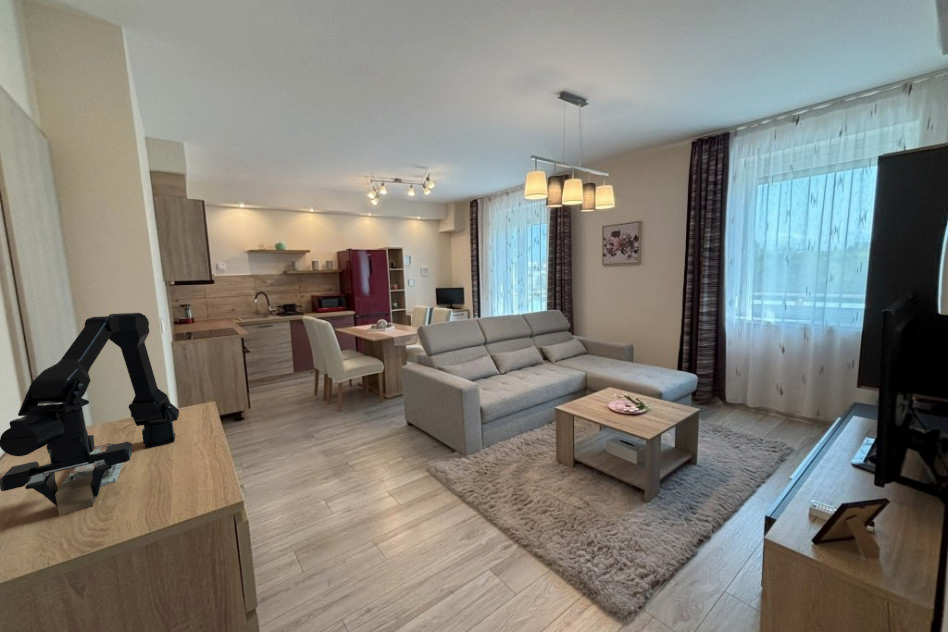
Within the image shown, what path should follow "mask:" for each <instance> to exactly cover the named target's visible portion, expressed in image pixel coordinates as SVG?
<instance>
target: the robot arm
mask: <svg viewBox="0 0 948 632" xmlns="http://www.w3.org/2000/svg"><path fill="white" fill-rule="evenodd" d="M149 325H150V322H149V319H148V318H147V316H146V315H145V314H143V313H141V312H128V313H127V312H124V313H120V312H119V313H110V314H108V315H107V316H106V315H105V316H101V315H100V316H91V317H88V318H86V320H85V321H84V326H83V329H82V330H81V331H80V332H79V334H78V335H77V337H76V338H75V340H74V341H73V342H72V343H71V345H70V346H69V348H68V349H67V350H66V352H65V353H64V355H63V356H62V357H61V359H60V360H59V361H58V362H57V363H55V364H54V365H51V366H50V367H48V368H45V369H44V370H43V371H41V372H40V373H39V374H38V375H37V376H36V377H35V379H33V380H32V381H31V383H30V385H29V388H28V389H27V392H26V394H25V397H24V398H23V401H22V404H21V406H20V409H19V410H18V413H17V416H18V417H20V418H15V419H12V420H10V421H9V428H8V429H6V430H5V431H3V432H2V433H1V435H0V449H1V450H2V451H3V452H4V453H5V454H8V455H9V456H13V457H23V456H27V455H30V454H32V453H33V452H35V451H37V450H39V449H41V448H43V447H44V446H46V451H47V453H48V454H49V459H50V463H47V464H42V465H40V464H39V462H38V461H36V460H35V461H32V462H28V463H23V464H18V465H13V466H11V467H10V468H9V469H8V470H7V471H6V472H5V473H4V474H3V475H2V476H1V477H0V491H1V492H6V491H10V490H16V489H18V488H22V487H25V490H30V489H33V491H36V492H37V493H40V494H41V495H43V497H45V498H47V500H49V501H50V502H51V503H52V504H53V505H54V506H56V507H57V508H58V506H57V501H56V496H55V494H56V492H57V491H58V489H59V487H58V485H57V484H58V483H57V482H56V473H57V472H61V471H65V470H71V469H72V468H75V467H79V466H83V465H88V464H92V463H94V464H95V465H96V466H95V468H94V469H93V471H92V474H93V491H94V495H95V497H97V498H98V496H99V494H100V490H101V487H102V486H101V483H102V479H103V476H104V473H105V471H106V470H109V469H111V468H112V466H113V465H115V464H119V463H123V464H124V463H126V462H129V461H130V460H131V459H132V458H131V457H132V455H133V452H134V449H133V444H132V443H131V442H130V441H124V442H120V443H119V442H118V443H113V444H114V445H109V446H108V447H107V449H106V451H105V452H101V453H96V454H92V455H90V452H93V450H94V448H95V435H94V434H91V435H89V433H88V430H87V428H86V421H85V415H84V409H83V407H84V406H86V405H89V403H90V401H89V400H88V399H85V398H83V397H84V396H85V394H86V392H87V390H88V388H89V385H90V383H91V381H92V380H91V377H90V374H89V372H90V369H91V367H92V366H93V364H94V363H95V361H96V359H97V358H98V357H99V355H100V353H101V352H102V350H103V349H104V347H105V346H106V344H107V342H108V341H111V342H112V343H114V344H115V345H116V346H117V347H119V348H120V351H121V353H122V358H123V360H124V363H125V366H126V370H127V372H128V376H129V379H130V383H131V386H132V389H133V392H134V397H133V398H132V399H133V400H132V401H131V403H129V404H128V409H129V411H130V418H132V419H133V421H134V424H135V426H136V427H140V426H143V427H142V430H141V435H142V441H143V442H142V443H143V445H145V449H148V448H152V447H153V448H154V447H157V446H162V445H166V444H170V443H174V442H175V441H176V440H175V439H176V432H175V429H174V422H176V421H178V418H179V416H180V410H179V409H178V408H177V407H176V406H175V405H173V404H172V403H171V401H170V399H169V396H168V394H167V393H165V392H164V391H162V390H161V389H160V388H158V384H157V381H156V377H155V375H154V370H153V366H152V364H151V359H150V356H149V353H148V350H147V346H146V340H147V337H148V336H149V335H150V328H149V327H150V326H149Z"/></svg>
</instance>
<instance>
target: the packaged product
mask: <svg viewBox="0 0 948 632" xmlns="http://www.w3.org/2000/svg"><path fill="white" fill-rule="evenodd" d="M114 444H115V443H106V444H102V445H101V444H100V445H94V447H95V448H94V450H93V452H90V455H92V454H96V453H101V452H105V451H106V449H107V447H108V446H109V445H114ZM95 466H96V465H95V464H94V463H92V464H88V465H83V466H79V467H75V468H71V469H69V472H68V474H67V475H66V476H65V478H64V480H63V481H62V483H65V482H69V481H73V480H77V479H81V478H85V477H89V476H93V474H92V471H93V469H94V468H95ZM123 466H124V463H119V464H115V465H113V466H112V468H111V469H109V470H106V471H105V473H104V476H103V479H102V483H101V487H102V486H103V487H104V486H108V485H111V484H115V483H116V482H117V481H118V478H119V475H120V472H121V470H122V467H123Z"/></svg>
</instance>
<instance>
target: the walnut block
mask: <svg viewBox="0 0 948 632" xmlns="http://www.w3.org/2000/svg"><path fill="white" fill-rule="evenodd" d="M55 496H56V501H57V506H58V507H57V506H56V507H57V510H58V516H59V517H61V516H65V515H68V514H67V513H69V514H72V513H75V512H74V511H76V512H79V511H82V510H81V509H83V510H85V509H89V508H93V507H94V506H95V503H96V500H97V499H98V496H97V497H95V495H94V491H93V476H89V477H85V478H81V479H77V480H73V481H69V482H65V483H63V482H61V484H60V486H59V487H58V491H57V492H56V494H55ZM78 510H79V511H78ZM71 512H72V513H71ZM64 514H65V515H64ZM60 515H61V516H60Z"/></svg>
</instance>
